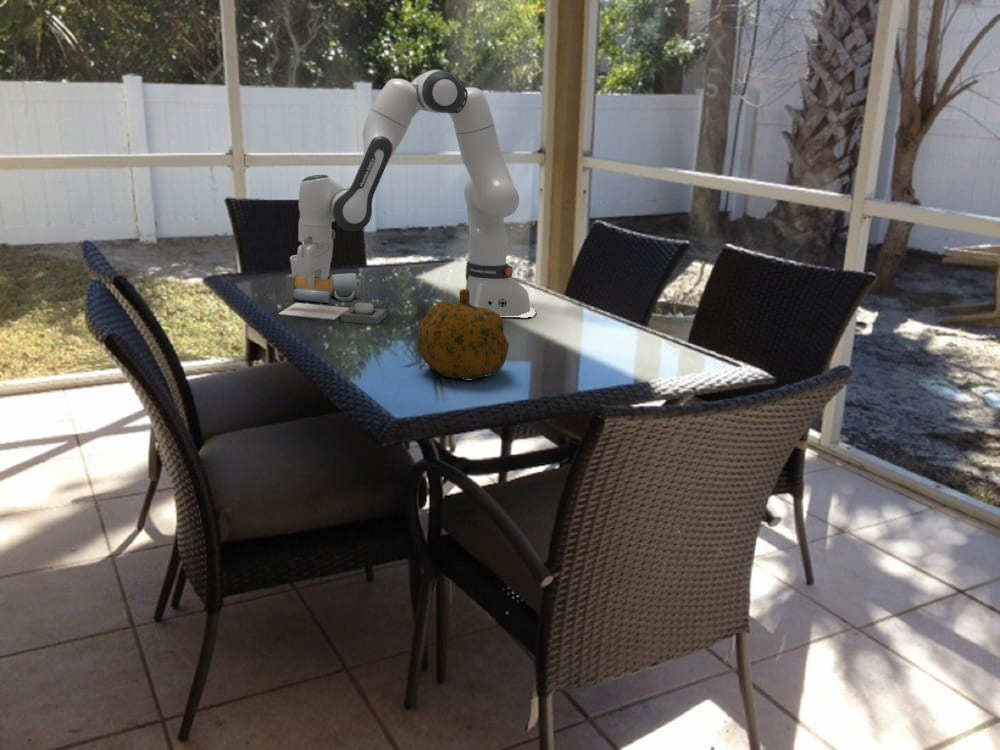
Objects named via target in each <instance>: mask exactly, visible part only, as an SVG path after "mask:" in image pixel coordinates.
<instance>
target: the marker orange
mask: <svg viewBox="0 0 1000 750" xmlns="http://www.w3.org/2000/svg"><path fill="white" fill-rule="evenodd" d="M314 280H315V286H314V287H308V285H307V277H300V276H299V275H296V274H292V273H289V274H288V275H286V276H285V288H286V289H291V290H295V289H304V290H314V291H324V292H329V293H331V292H332V290H333V280H331V279H330V278H329V279H328V278H327V279H321V278H314Z"/></svg>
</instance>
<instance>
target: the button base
mask: <svg viewBox="0 0 1000 750" xmlns="http://www.w3.org/2000/svg"><path fill="white" fill-rule="evenodd" d="M348 308H349V309H347V310H346V311H345V312H343V313H342V314H341V316H340V321H341V322H342V323H343V322H344V323H345V322H346V323H356V324H368V325H378V324H380V323H381V322H382V321H383V320H384V319H385V318H386V317H387V309H383V308H374V307H373V314H369V315H364V314H356V313H355V306H350V307H348Z"/></svg>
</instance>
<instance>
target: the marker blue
mask: <svg viewBox="0 0 1000 750" xmlns="http://www.w3.org/2000/svg"><path fill="white" fill-rule="evenodd" d="M330 298H331V292H324V291H314V290H304V289H295V290H291V289H286V287H285V288H284V301H286V302H287V301H288V302H294V301H300V302H301V301H303V302H309V303H310V302H311V303H323V304H328V303H330Z"/></svg>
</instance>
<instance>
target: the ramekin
mask: <svg viewBox="0 0 1000 750" xmlns="http://www.w3.org/2000/svg"><path fill="white" fill-rule="evenodd" d="M289 262H290V268H291V274H296V275H299V276H300V277H306V274H299V273H297V269H296V267H297V254H295V255H291V256H290V257H289ZM331 263H332V261H331V262H330V263H329V264H327V265H326V266H324V267H323V271H322V275H321V279H328V278H329V276H330V270H331Z"/></svg>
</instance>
